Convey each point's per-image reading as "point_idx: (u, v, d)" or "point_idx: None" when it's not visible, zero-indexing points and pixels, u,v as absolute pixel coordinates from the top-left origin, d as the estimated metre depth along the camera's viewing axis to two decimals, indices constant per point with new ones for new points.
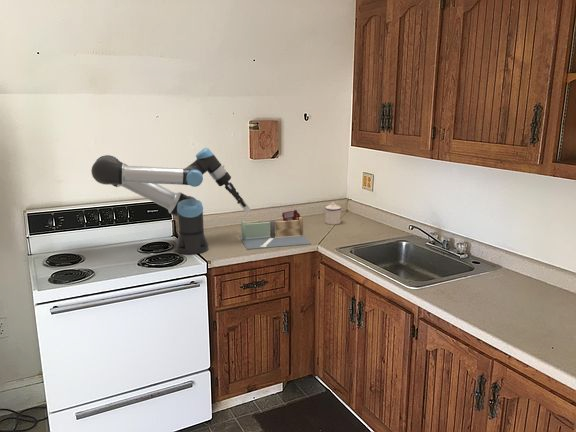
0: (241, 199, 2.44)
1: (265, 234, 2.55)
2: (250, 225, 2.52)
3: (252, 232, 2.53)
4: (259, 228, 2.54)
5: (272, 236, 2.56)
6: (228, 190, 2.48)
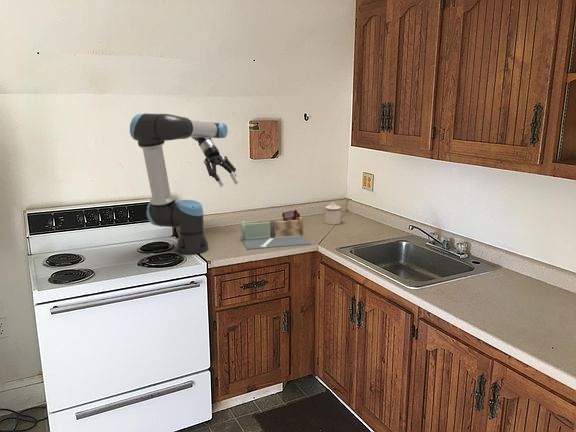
0: None
1: (265, 234, 2.55)
2: (250, 225, 2.52)
3: (252, 232, 2.53)
4: (259, 228, 2.54)
5: (272, 236, 2.56)
6: (222, 159, 2.64)
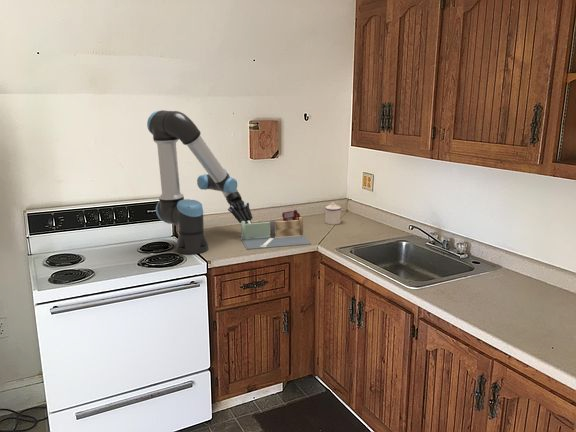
0: None
1: (265, 234, 2.55)
2: (250, 225, 2.52)
3: (252, 232, 2.53)
4: (259, 228, 2.54)
5: (272, 236, 2.56)
6: (243, 205, 2.61)
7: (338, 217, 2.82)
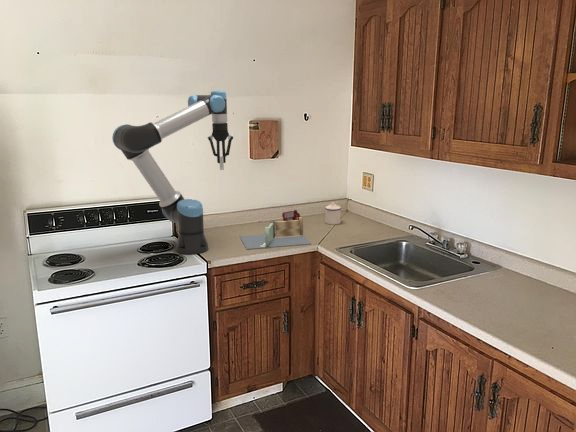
0: None
1: (272, 235, 2.53)
2: (269, 229, 2.44)
3: (270, 236, 2.46)
4: (271, 230, 2.49)
5: None
6: (224, 139, 2.52)
7: (338, 217, 2.82)
